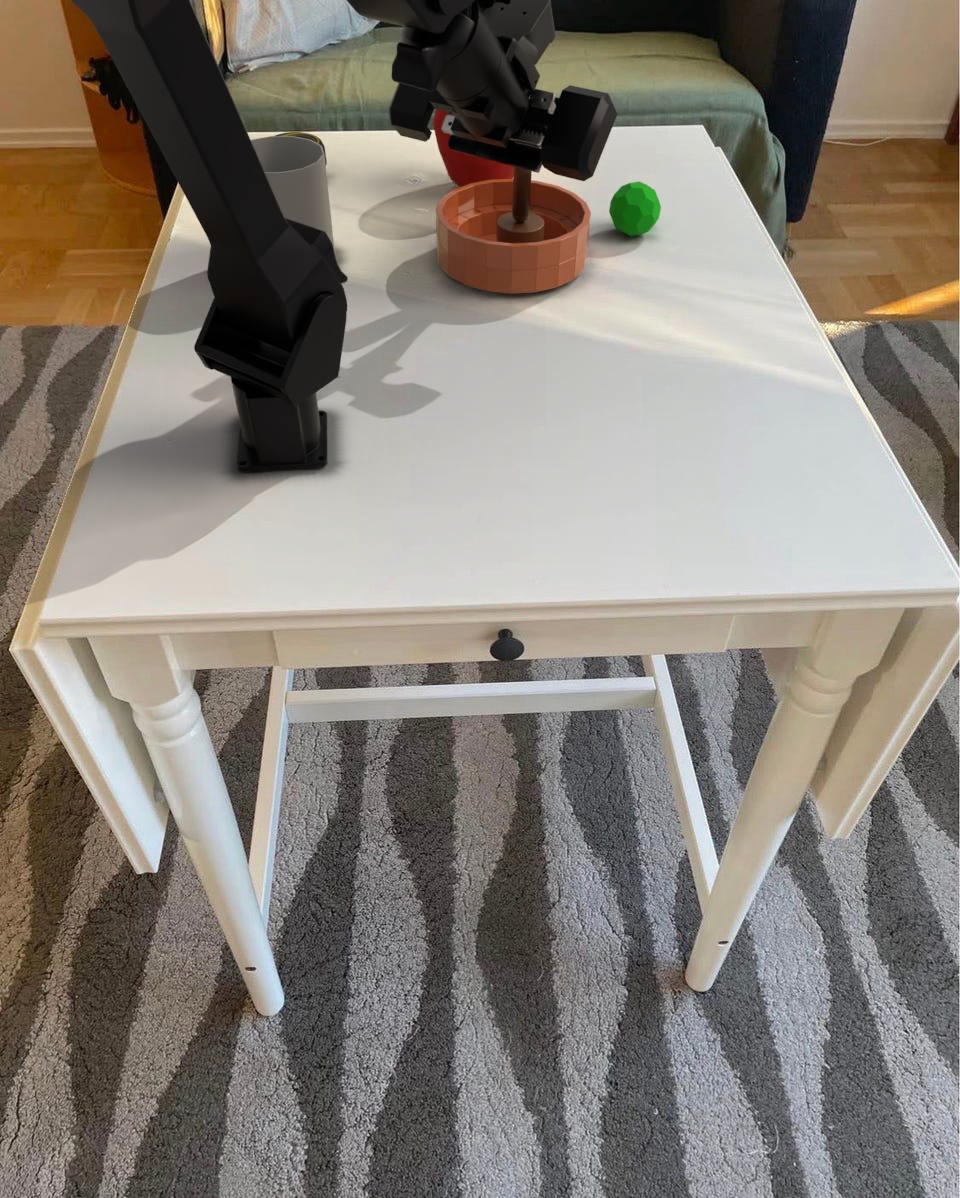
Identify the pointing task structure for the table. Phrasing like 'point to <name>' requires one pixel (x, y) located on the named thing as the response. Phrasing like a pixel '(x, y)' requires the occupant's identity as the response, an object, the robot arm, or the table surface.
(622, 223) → the polyhedron
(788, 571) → the table surface
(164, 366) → the table surface
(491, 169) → the apple
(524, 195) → the brown joystick
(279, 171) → the cup
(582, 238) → the bowl
